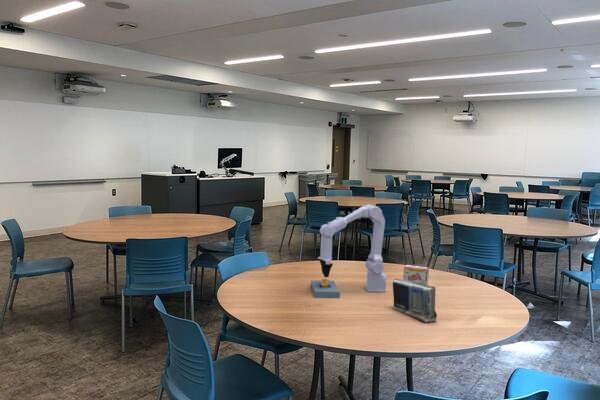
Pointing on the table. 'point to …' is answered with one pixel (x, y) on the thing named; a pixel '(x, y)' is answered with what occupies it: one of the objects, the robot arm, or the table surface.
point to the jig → (325, 290)
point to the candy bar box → (416, 274)
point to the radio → (414, 300)
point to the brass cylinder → (324, 283)
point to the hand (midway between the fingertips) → (325, 275)
